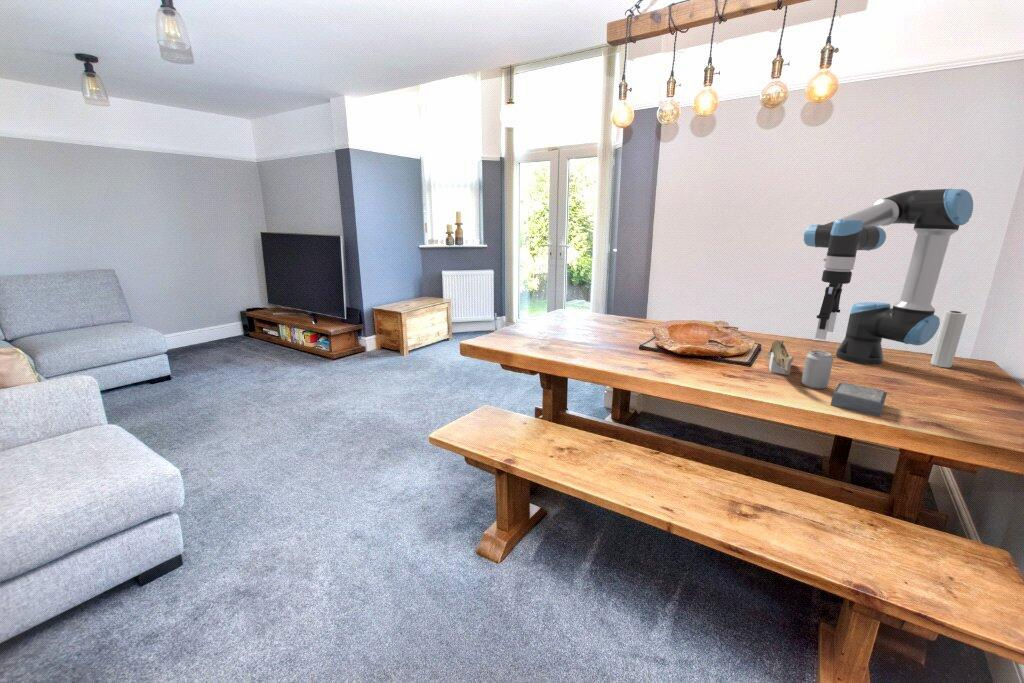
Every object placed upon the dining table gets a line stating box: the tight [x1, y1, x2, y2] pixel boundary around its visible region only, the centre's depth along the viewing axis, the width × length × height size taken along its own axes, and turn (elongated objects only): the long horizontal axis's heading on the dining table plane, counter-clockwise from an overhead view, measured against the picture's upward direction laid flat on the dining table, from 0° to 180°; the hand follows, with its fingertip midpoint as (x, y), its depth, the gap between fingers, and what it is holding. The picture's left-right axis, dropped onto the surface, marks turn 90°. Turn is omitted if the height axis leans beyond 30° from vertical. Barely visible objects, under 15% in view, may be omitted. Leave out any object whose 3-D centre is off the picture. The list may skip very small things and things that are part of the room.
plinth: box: [830, 381, 888, 417], centre depth 138 cm, size 12×12×5 cm
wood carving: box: [764, 340, 794, 376], centre depth 165 cm, size 9×35×11 cm, turn 156°
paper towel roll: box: [930, 310, 968, 369], centre depth 173 cm, size 7×6×21 cm
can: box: [801, 349, 834, 390], centre depth 152 cm, size 8×8×12 cm
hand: (824, 335), depth 148 cm, fingers open, 13 cm apart
